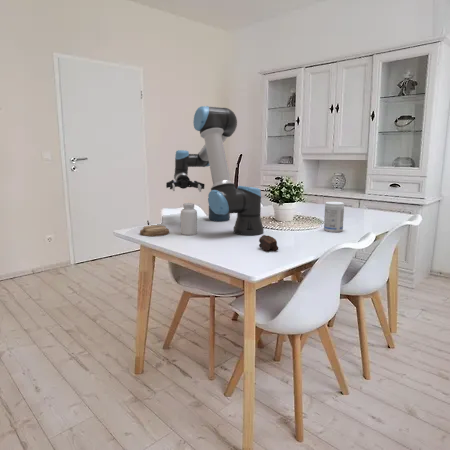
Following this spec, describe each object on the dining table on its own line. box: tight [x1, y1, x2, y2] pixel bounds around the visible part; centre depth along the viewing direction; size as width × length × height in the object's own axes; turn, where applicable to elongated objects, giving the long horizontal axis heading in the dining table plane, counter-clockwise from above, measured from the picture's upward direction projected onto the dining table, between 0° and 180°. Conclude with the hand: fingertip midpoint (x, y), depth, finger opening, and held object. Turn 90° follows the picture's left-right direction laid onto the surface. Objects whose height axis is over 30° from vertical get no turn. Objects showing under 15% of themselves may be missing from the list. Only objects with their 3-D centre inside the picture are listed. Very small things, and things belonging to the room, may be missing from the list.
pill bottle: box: [180, 202, 198, 236], centre depth 182 cm, size 8×8×15 cm
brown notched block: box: [258, 234, 279, 252], centre depth 154 cm, size 6×7×10 cm
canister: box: [208, 205, 231, 222], centre depth 221 cm, size 13×13×18 cm
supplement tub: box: [323, 201, 345, 233], centre depth 192 cm, size 10×10×15 cm
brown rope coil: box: [139, 224, 170, 237], centre depth 183 cm, size 14×14×3 cm
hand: (187, 188), depth 189 cm, fingers open, 13 cm apart
